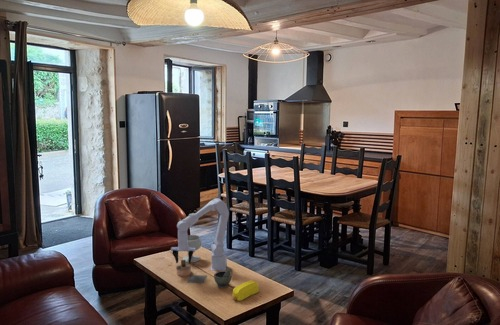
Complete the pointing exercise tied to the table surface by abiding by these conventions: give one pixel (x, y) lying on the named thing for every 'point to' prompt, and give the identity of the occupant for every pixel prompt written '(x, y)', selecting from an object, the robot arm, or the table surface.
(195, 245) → the chalice
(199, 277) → the mat
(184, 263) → the lid
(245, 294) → the yellow rounded block
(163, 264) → the table surface
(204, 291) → the table surface
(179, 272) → the bowl
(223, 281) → the mortar and pestle
